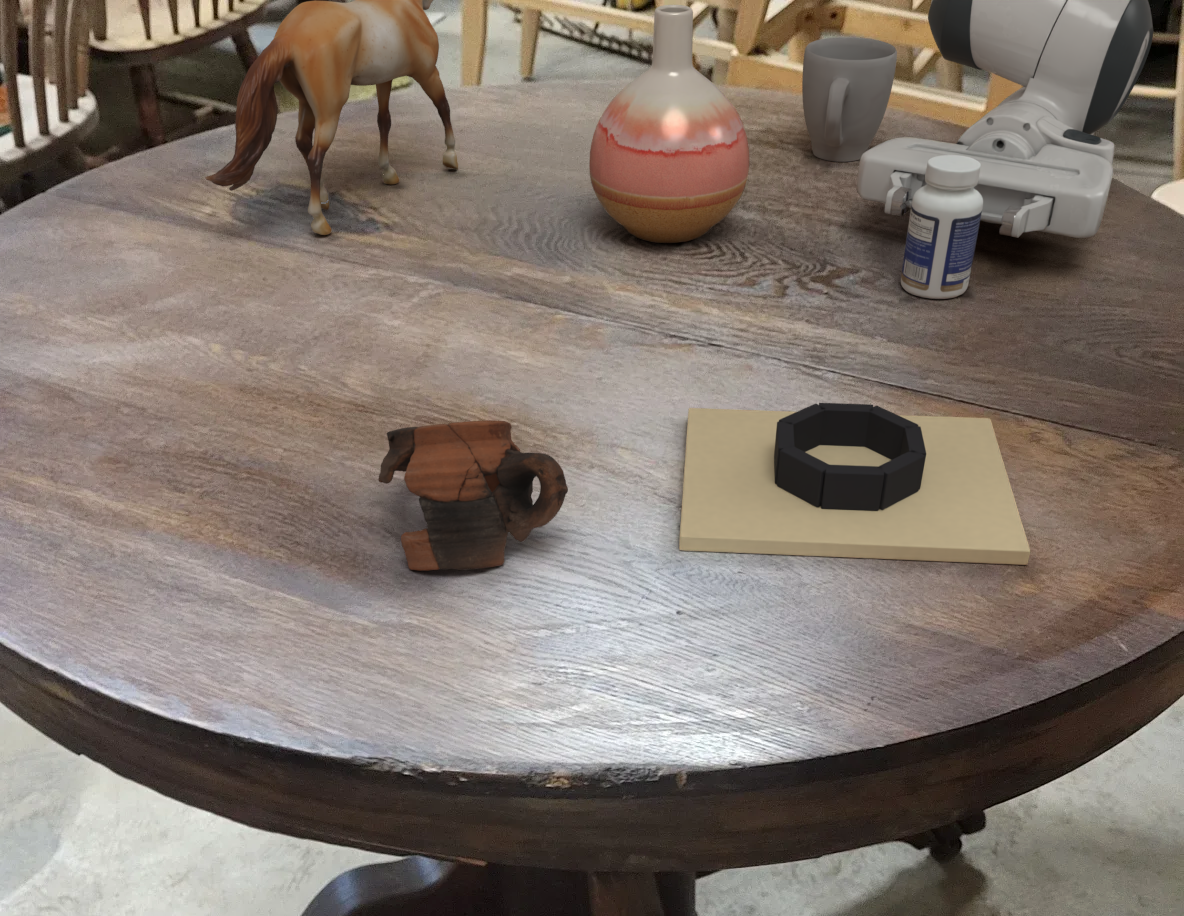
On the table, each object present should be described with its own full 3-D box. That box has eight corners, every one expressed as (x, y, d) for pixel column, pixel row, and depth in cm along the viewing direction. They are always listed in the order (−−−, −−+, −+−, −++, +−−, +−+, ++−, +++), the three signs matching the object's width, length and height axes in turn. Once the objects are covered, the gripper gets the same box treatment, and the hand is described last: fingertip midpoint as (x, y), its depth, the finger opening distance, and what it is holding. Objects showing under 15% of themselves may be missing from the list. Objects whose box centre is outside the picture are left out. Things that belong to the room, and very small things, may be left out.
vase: (775, 240, 113) (795, 14, 101) (642, 272, 107) (647, 38, 96) (688, 194, 122) (696, -18, 110) (561, 221, 116) (556, 2, 105)
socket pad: (987, 431, 86) (998, 382, 84) (1027, 565, 74) (1040, 513, 72) (687, 420, 88) (690, 372, 86) (679, 550, 76) (681, 498, 73)
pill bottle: (965, 276, 106) (988, 153, 100) (968, 303, 102) (992, 176, 96) (899, 272, 107) (917, 149, 101) (899, 298, 103) (918, 172, 97)
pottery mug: (356, 578, 75) (339, 432, 73) (437, 563, 83) (424, 432, 82) (544, 567, 70) (530, 410, 68) (610, 552, 78) (599, 413, 77)
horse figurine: (436, 149, 132) (417, -86, 119) (498, 161, 129) (485, -78, 116) (216, 246, 113) (163, -22, 99) (283, 264, 109) (237, -11, 96)
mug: (803, 136, 134) (813, 33, 128) (889, 143, 132) (903, 40, 126) (781, 173, 126) (790, 65, 120) (872, 181, 124) (886, 72, 118)
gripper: (895, 108, 113) (832, 152, 104) (1135, 144, 105) (1089, 195, 96) (885, 183, 117) (823, 231, 108) (1115, 223, 109) (1069, 279, 100)
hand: (950, 215), depth 102 cm, fingers open, 8 cm apart
